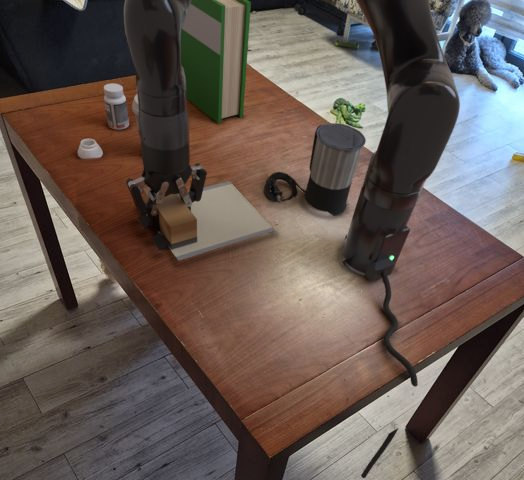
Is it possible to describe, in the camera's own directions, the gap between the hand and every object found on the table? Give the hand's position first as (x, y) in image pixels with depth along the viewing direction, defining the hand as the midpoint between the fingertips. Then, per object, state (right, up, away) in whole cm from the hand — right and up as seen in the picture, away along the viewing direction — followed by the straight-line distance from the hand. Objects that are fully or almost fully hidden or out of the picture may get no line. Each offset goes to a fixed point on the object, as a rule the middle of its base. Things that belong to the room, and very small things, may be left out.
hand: (170, 224), depth 86 cm
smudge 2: (-2, -5, -2) cm, 5 cm away
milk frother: (+26, +8, +12) cm, 29 cm away
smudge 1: (-5, 0, +1) cm, 5 cm away
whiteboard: (+6, +1, +4) cm, 7 cm away
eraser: (0, 0, 0) cm, 0 cm away
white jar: (-20, +18, +14) cm, 30 cm away
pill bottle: (-16, +29, +23) cm, 40 cm away
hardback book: (+4, +39, +33) cm, 52 cm away
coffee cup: (-6, +19, +17) cm, 26 cm away
